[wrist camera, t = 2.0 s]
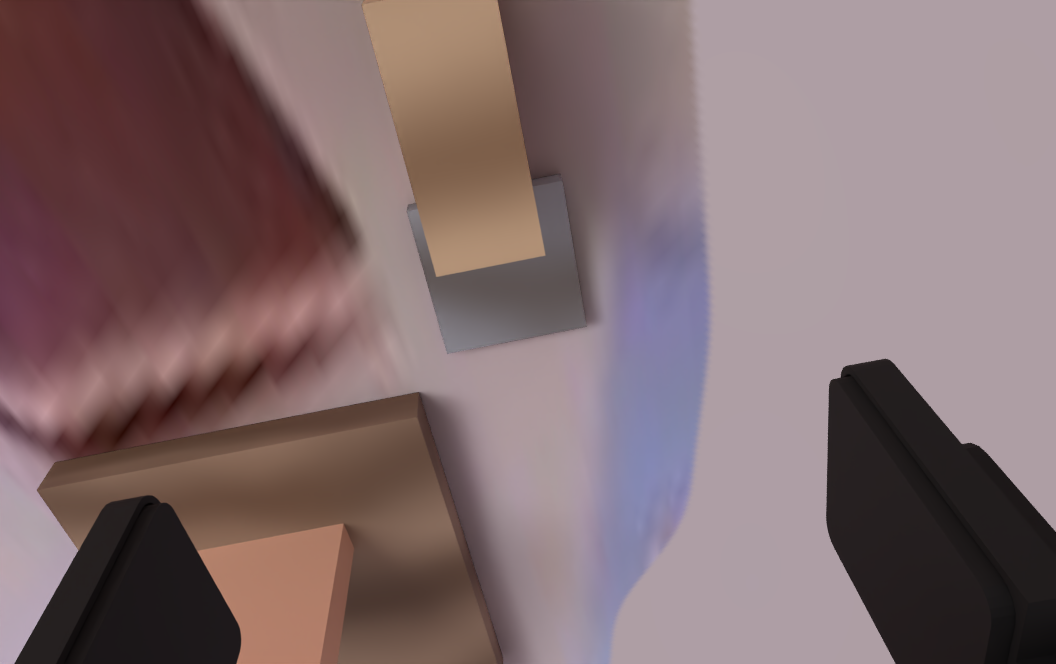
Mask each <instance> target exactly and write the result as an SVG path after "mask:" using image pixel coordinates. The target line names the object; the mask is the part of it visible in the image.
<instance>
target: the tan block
mask: <svg viewBox="0 0 1056 664" xmlns="http://www.w3.org/2000/svg"><path fill="white" fill-rule="evenodd" d="M362 9H363V12H364V16H365V19H366V23H367V27H368V30H369V34H370V38H371V41H372V45H373V49H374V52H375V56H376V59H377V63H378V67H379V70H380V74H381V78H382V81H383V85H384V88H385V92H386V96H387V99H388V103H389V107H390V110H391V114H392V118H393V121H394V125H395V128H396V132H397V136H398V139H399V143H400V147H401V150H402V154H403V158H404V161H405V165H406V168H407V172H408V176H409V179H410V183H411V187H412V190H413V194H414V197H415V201H416V203H413V204H408V207H407V214H408V217H409V221H410V224H411V228H412V231H413V235H414V238H415V242H416V245H417V249H418V253H419V256H420V260H421V263H422V267H423V270H424V274H425V277H426V281H427V284H428V288H429V291H430V295H431V298H432V302H433V305H434V309H435V312H436V316H437V320H438V323H439V327H440V330H441V334H442V337H443V341H444V344H445V348H446V351H447V354H449V353H454V352H459V351H464V350H469V349H475V348H480V347H485V346H490V345H495V344H500V343H506V342H511V341H516V340H521V339H526V338H531V337H537V336H542V335H547V334H552V333H557V332H562V331H568V330H573V329H578V328H583V327H587V326H586V320H585V314H584V308H583V302H582V296H581V290H580V283H579V277H578V271H577V265H576V259H575V253H574V247H573V241H572V235H571V229H570V223H569V217H568V211H567V205H566V199H565V193H564V187H563V181H562V178H561V174H558V175H553V176H548V177H543V178H538V179H533V180H531V176H530V170H529V165H528V160H527V155H526V149H525V144H524V139H523V133H522V128H521V123H520V117H519V112H518V107H517V101H516V96H515V91H514V86H513V80H512V75H511V70H510V64H509V59H508V54H507V48H506V43H505V38H504V32H503V27H502V22H501V17H500V11H499V6H498V1H497V0H364V2H363V3H362Z"/></svg>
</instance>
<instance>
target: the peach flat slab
mask: <svg viewBox="0 0 1056 664" xmlns="http://www.w3.org/2000/svg"><path fill="white" fill-rule="evenodd" d="M197 552H198V553H199V555H200V557H201V559H202V560H203V562H204V564H205V566H206V567H207V569H208V571H209V573H210V575H211V576H212V578H213V580H214V582H215V583H216V585H217V587H218V589H219V590H220V592H221V594H222V596H223V598H224V599H225V601H226V603H227V605H228V606H229V608H230V610H231V612H232V614H233V615H234V617H235V619H236V621H237V622H238V625H239V627H240V631H241V649H240V654H239V657H238V660H237V664H337V662H338V656H339V649H340V642H341V635H342V628H343V621H344V615H345V608H346V601H347V594H348V587H349V581H350V574H351V567H352V560H353V553H354V547H353V544H352V542H351V540H350V537H349V535H348V533H347V530H346V528H345V525H344V523H342V524H337V525H332V526H326V527H321V528H316V529H310V530H305V531H300V532H295V533H289V534H284V535H279V536H273V537H268V538H263V539H257V540H252V541H247V542H242V543H236V544H231V545H226V546H220V547H215V548H210V549H204V550H199V551H197Z"/></svg>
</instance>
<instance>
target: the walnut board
mask: <svg viewBox="0 0 1056 664" xmlns="http://www.w3.org/2000/svg"><path fill="white" fill-rule="evenodd" d="M37 491H38V493H39V494H40V496H41V497H42V499H43V500H44V501H45V503H46V504H47V506H48V507H49V509H50V510H51V511H52V513H53V514H54V516H55V517H56V519H57V520H58V522H59V523H60V524H61V526H62V527H63V529H64V530H65V532H66V533H67V534H68V536H69V537H70V539H71V540H72V542H73V543H74V545H75V546H76V547H77V549H78V550H79V549H80V547H81V545H82V544H83V542H84V540H85V538H86V537H87V535H88V533H89V531H90V529H91V528H92V526H93V524H94V522H95V521H96V519H97V517H98V515H99V514H100V512H101V510H102V509H103V508H104V506H105V505H106V504H108V503H110V502H113V501H118V500H124V499H129V498H135V497H140V496H145V495H153V496H154V497H156V498H157V499H158V500H159V501H160V503H168V504H169V505H171V506H172V508H173V509H174V511H175V513H176V514H177V516H178V518H179V520H180V521H181V523H182V525H183V527H184V529H185V530H186V532H187V534H188V536H189V537H190V539H191V541H192V543H193V544H194V546H195V548H196V550H197V551H199V550H204V549H210V548H215V547H220V546H226V545H231V544H236V543H242V542H247V541H252V540H257V539H263V538H268V537H273V536H279V535H284V534H289V533H295V532H300V531H305V530H310V529H316V528H321V527H326V526H332V525H337V524H342V523H344V525H345V528H346V530H347V533H348V535H349V537H350V540H351V542H352V544H353V547H354V553H353V560H352V567H351V574H350V581H349V587H348V594H347V601H346V608H345V615H344V621H343V628H342V635H341V642H340V649H339V656H338V662H337V664H503V657H502V653H501V650H500V647H499V644H498V641H497V638H496V634H495V631H494V628H493V625H492V622H491V619H490V616H489V612H488V609H487V606H486V603H485V600H484V597H483V593H482V590H481V587H480V584H479V581H478V578H477V575H476V571H475V568H474V565H473V562H472V559H471V556H470V552H469V549H468V546H467V543H466V540H465V537H464V533H463V530H462V527H461V524H460V521H459V518H458V515H457V511H456V508H455V505H454V502H453V499H452V496H451V492H450V489H449V486H448V483H447V480H446V477H445V474H444V470H443V467H442V464H441V461H440V458H439V455H438V451H437V448H436V445H435V442H434V439H433V436H432V432H431V429H430V426H429V423H428V420H427V417H426V414H425V410H424V407H423V404H422V401H421V398H420V395H419V392H418V393H412V394H407V395H402V396H397V397H392V398H387V399H381V400H376V401H371V402H366V403H361V404H355V405H350V406H345V407H340V408H335V409H330V410H324V411H319V412H314V413H309V414H304V415H299V416H293V417H288V418H283V419H278V420H273V421H268V422H262V423H257V424H252V425H247V426H242V427H236V428H231V429H226V430H221V431H216V432H211V433H205V434H200V435H195V436H190V437H185V438H180V439H174V440H169V441H164V442H159V443H154V444H149V445H143V446H138V447H133V448H128V449H123V450H117V451H112V452H107V453H102V454H97V455H92V456H86V457H81V458H76V459H71V460H66V461H61V462H55V463H54V465H53V466H52V468H51V469H50V471H49V472H48V474H47V475H46V477H45V478H44V480H43V481H42V483H41V484H40V486H39V488H38V489H37Z"/></svg>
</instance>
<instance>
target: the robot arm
mask: <svg viewBox="0 0 1056 664" xmlns="http://www.w3.org/2000/svg"><path fill="white" fill-rule="evenodd" d="M826 510H827V511H826V521H827V528H828V533H829V536H830V539H831V542H832V544H833V546H834V548H835V550H836V552H837V554H838V556H839V558H840V560H841V562H842V563H843V565H844V567H845V569H846V571H847V573H848V575H849V577H850V579H851V580H852V582H853V584H854V586H855V588H856V590H857V592H858V594H859V595H860V597H861V599H862V601H863V603H864V605H865V607H866V609H867V611H868V612H869V614H870V616H871V618H872V620H873V622H874V624H875V626H876V628H877V629H878V631H879V633H880V635H881V637H882V639H883V641H884V643H885V644H886V646H887V648H888V650H889V652H890V654H891V656H892V658H893V659H894V661H895V663H896V664H1056V532H1055V531H1054V529H1053V528H1052V527H1051V526H1050V525H1049V524H1048V523H1047V521H1046V520H1045V519H1044V518H1043V517H1042V516H1041V515H1040V513H1038V511H1037V510H1036V509H1035V508H1034V507H1033V506H1032V504H1031V503H1030V502H1029V501H1028V500H1027V499H1026V497H1025V496H1024V495H1023V494H1022V493H1021V492H1020V491H1019V489H1018V488H1017V487H1016V486H1015V485H1014V484H1013V482H1012V481H1011V480H1010V479H1009V478H1008V477H1007V476H1006V474H1005V473H1004V472H1003V471H1002V470H1001V469H1000V468H999V467H998V465H997V464H996V463H995V462H994V461H993V460H992V458H991V457H990V456H989V455H988V454H987V453H986V452H985V451H984V450H983V449H981V448H980V447H979V446H977V445H975V444H972V443H967V444H961V443H960V442H959V440H958V439H957V438H956V437H955V436H954V434H952V432H951V431H950V430H949V428H948V427H947V426H946V425H945V424H944V423H943V421H942V420H941V419H940V418H939V417H938V416H937V414H936V413H935V412H934V411H933V410H932V408H931V407H930V406H929V405H928V404H927V402H926V401H925V400H924V399H923V398H922V397H921V395H920V394H919V393H918V392H917V391H916V389H915V388H914V387H913V386H912V385H911V384H910V382H909V381H908V380H907V379H906V378H905V376H904V375H903V374H902V373H901V372H900V370H898V368H897V367H896V366H895V364H894V363H892V362H891V361H890V360H888V359H882V360H876V361H871V362H865V363H860V364H855V365H849V366H845V367H844V368H843V370H842V372H841V378H837V379H833V380H831V382H830V385H829V416H828V464H827V509H826ZM240 649H241V631H240V627H239V625H238V622H237V621H236V619H235V617H234V615H233V614H232V612H231V610H230V608H229V606H228V605H227V603H226V601H225V599H224V598H223V596H222V594H221V592H220V590H219V589H218V587H217V585H216V583H215V582H214V580H213V578H212V576H211V575H210V573H209V571H208V569H207V567H206V566H205V564H204V562H203V560H202V559H201V557H200V555H199V553H198V552H197V550H196V548H195V546H194V544H193V543H192V541H191V539H190V537H189V536H188V534H187V532H186V530H185V529H184V527H183V525H182V523H181V521H180V520H179V518H178V516H177V514H176V513H175V511H174V509H173V508H172V506H171V505H169V504H168V503H160V501H159V500H158V499H157V498H156V497H154V496H153V495H145V496H140V497H135V498H129V499H124V500H118V501H113V502H110V503H108V504H106V505H105V506H104V508H103V509H102V510H101V512H100V514H99V515H98V517H97V519H96V521H95V522H94V524H93V526H92V528H91V529H90V531H89V533H88V535H87V537H86V538H85V540H84V542H83V544H82V545H81V547H80V549H79V551H78V552H77V554H76V556H75V558H74V559H73V561H72V563H71V565H70V567H69V568H68V570H67V572H66V574H65V575H64V577H63V579H62V581H61V582H60V584H59V586H58V588H57V589H56V591H55V593H54V595H53V597H52V598H51V600H50V602H49V604H48V605H47V607H46V609H45V611H44V612H43V614H42V616H41V618H40V619H39V621H38V623H37V625H36V627H35V628H34V630H33V632H32V634H31V635H30V637H29V639H28V641H27V642H26V644H25V646H24V648H23V650H22V651H21V653H20V655H19V657H18V658H17V660H16V662H15V664H237V660H238V657H239V654H240Z"/></svg>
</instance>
